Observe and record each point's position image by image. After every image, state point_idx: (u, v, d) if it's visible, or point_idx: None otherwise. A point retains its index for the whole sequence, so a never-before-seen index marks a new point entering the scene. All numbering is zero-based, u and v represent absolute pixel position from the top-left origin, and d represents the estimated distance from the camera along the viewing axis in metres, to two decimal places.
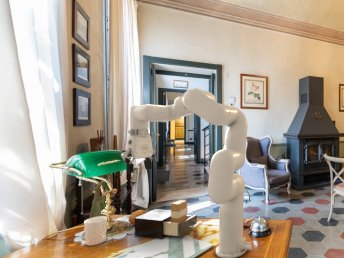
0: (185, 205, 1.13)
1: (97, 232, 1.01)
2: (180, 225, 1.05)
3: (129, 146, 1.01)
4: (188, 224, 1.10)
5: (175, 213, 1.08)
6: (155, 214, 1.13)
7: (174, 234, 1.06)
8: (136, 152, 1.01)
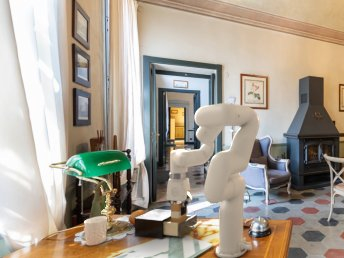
0: None
1: (97, 232, 1.01)
2: (180, 225, 1.05)
3: None
4: (188, 224, 1.10)
5: (175, 213, 1.08)
6: (155, 214, 1.13)
7: (174, 234, 1.06)
8: (167, 194, 1.10)
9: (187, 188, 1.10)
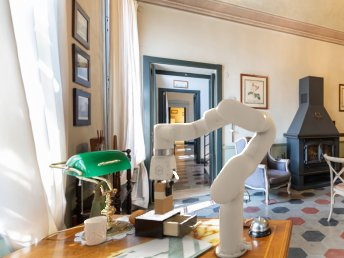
0: None
1: (97, 232, 1.01)
2: (180, 225, 1.05)
3: None
4: (188, 224, 1.10)
5: (159, 193, 0.97)
6: (155, 214, 1.13)
7: (174, 234, 1.06)
8: (150, 173, 0.98)
9: (173, 166, 0.98)
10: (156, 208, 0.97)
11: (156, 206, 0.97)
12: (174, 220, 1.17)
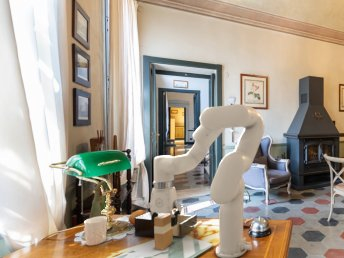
0: None
1: (97, 232, 1.01)
2: (180, 225, 1.05)
3: None
4: (188, 224, 1.10)
5: (159, 228, 0.97)
6: None
7: (174, 234, 1.06)
8: (151, 205, 0.98)
9: (173, 198, 0.98)
10: (156, 243, 0.97)
11: (156, 241, 0.97)
12: None
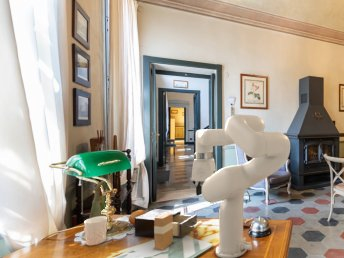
0: (171, 219, 1.01)
1: (97, 232, 1.01)
2: (180, 225, 1.05)
3: None
4: (188, 224, 1.10)
5: (159, 228, 0.97)
6: (155, 214, 1.13)
7: (174, 234, 1.06)
8: (193, 174, 1.07)
9: (213, 168, 1.07)
10: (156, 243, 0.97)
11: (156, 241, 0.97)
12: (174, 220, 1.17)
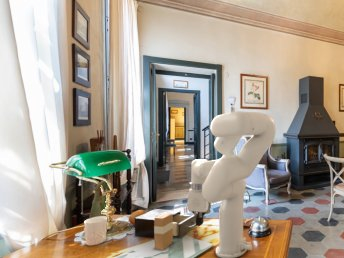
0: (171, 219, 1.01)
1: (97, 232, 1.01)
2: (179, 225, 1.05)
3: None
4: (187, 224, 1.10)
5: (159, 228, 0.97)
6: (155, 214, 1.13)
7: (173, 234, 1.06)
8: (188, 204, 1.08)
9: None
10: (156, 243, 0.97)
11: (156, 241, 0.97)
12: (173, 220, 1.17)
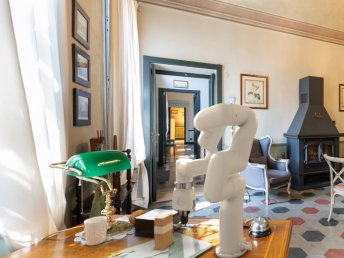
0: (171, 219, 1.01)
1: (97, 232, 1.01)
2: None
3: None
4: None
5: (159, 228, 0.97)
6: (155, 214, 1.13)
7: None
8: (173, 203, 1.09)
9: (192, 197, 1.09)
10: (156, 243, 0.97)
11: (156, 241, 0.97)
12: None
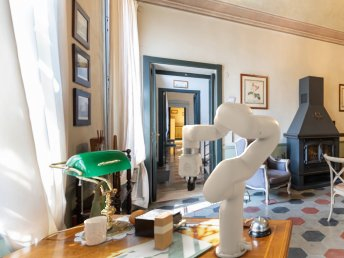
0: (171, 219, 1.01)
1: (97, 232, 1.01)
2: None
3: None
4: None
5: (159, 228, 0.97)
6: (155, 214, 1.13)
7: None
8: (179, 169, 1.08)
9: (199, 163, 1.08)
10: (156, 243, 0.97)
11: (156, 241, 0.97)
12: None
